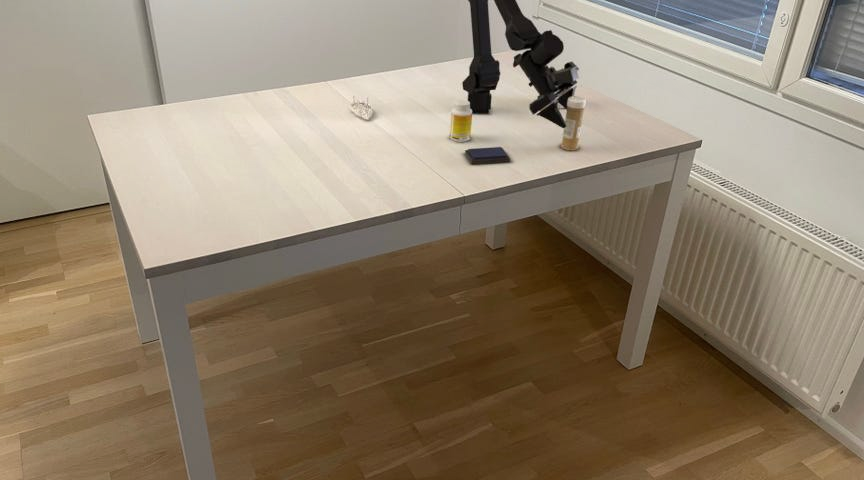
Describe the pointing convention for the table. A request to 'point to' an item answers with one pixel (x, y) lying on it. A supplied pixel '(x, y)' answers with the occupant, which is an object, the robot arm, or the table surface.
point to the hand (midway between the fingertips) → (571, 121)
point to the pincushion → (361, 109)
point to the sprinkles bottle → (573, 122)
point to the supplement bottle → (461, 121)
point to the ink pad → (487, 155)
